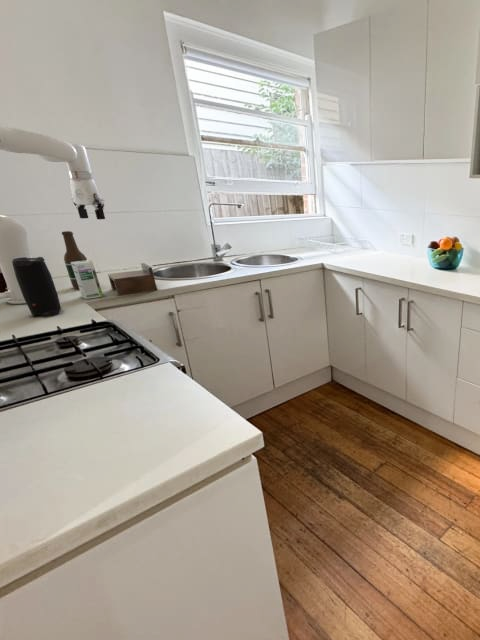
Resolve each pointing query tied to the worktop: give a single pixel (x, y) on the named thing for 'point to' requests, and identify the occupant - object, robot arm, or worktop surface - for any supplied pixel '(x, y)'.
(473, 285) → the worktop surface
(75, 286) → the beer bottle
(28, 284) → the portable speaker
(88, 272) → the syrup box
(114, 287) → the brown wooden box
